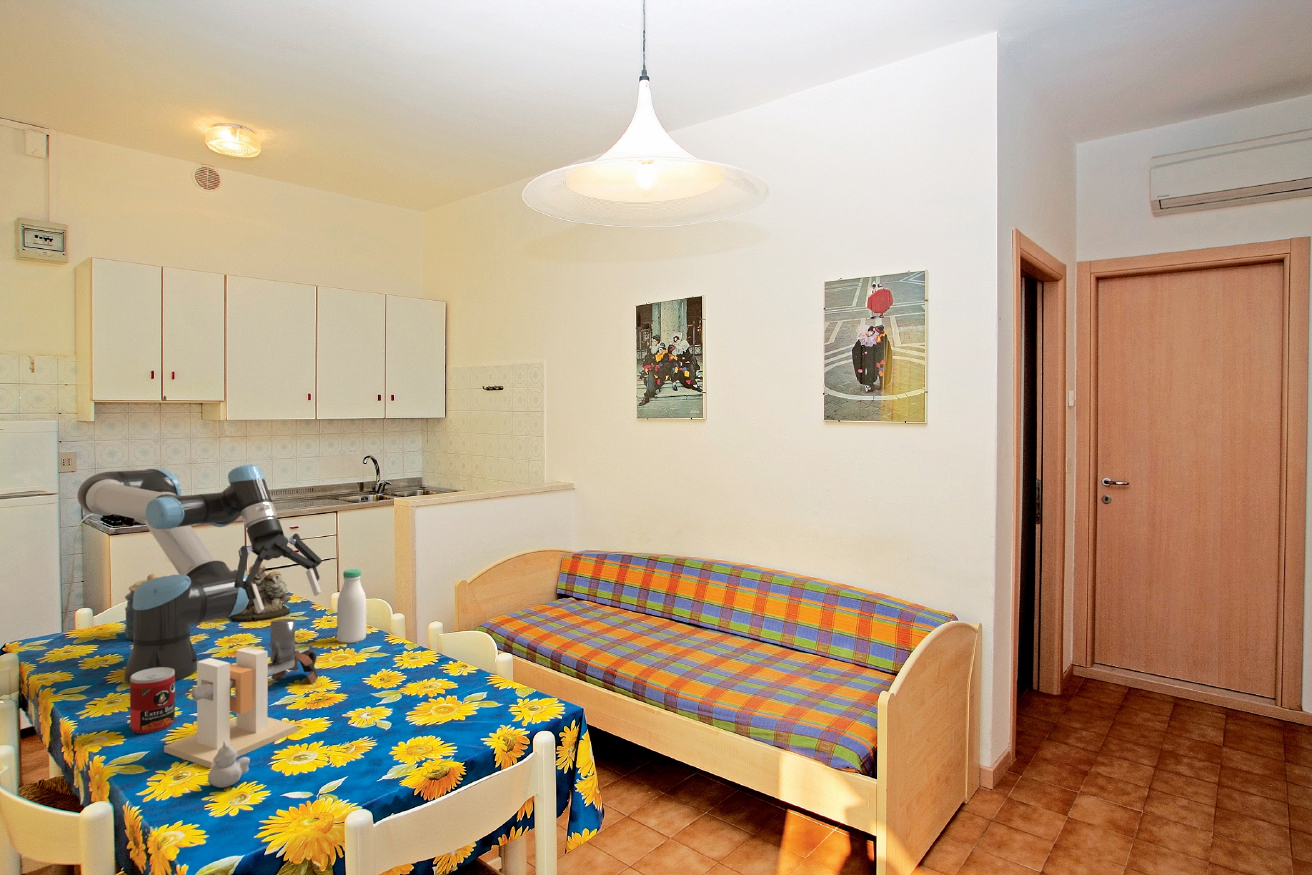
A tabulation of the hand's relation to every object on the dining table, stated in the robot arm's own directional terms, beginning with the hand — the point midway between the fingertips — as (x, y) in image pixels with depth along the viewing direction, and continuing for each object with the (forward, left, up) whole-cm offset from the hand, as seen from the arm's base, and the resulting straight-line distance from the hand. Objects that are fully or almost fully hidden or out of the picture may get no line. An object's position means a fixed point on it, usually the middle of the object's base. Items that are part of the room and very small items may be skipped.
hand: (290, 602), depth 179 cm
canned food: (-1, -31, -19) cm, 37 cm away
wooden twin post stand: (+20, -28, -19) cm, 40 cm away
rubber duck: (+35, -39, -19) cm, 56 cm away
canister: (-65, +6, -19) cm, 68 cm away
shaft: (+20, -26, -8) cm, 33 cm away
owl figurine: (-56, +33, -19) cm, 67 cm away
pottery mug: (+2, +1, -19) cm, 19 cm away
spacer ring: (+20, -28, -12) cm, 37 cm away
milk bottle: (-12, +30, -19) cm, 37 cm away
